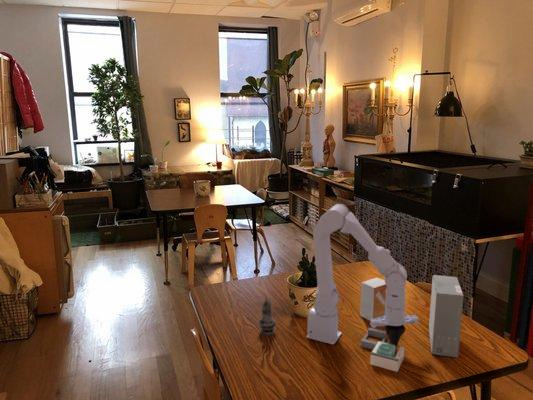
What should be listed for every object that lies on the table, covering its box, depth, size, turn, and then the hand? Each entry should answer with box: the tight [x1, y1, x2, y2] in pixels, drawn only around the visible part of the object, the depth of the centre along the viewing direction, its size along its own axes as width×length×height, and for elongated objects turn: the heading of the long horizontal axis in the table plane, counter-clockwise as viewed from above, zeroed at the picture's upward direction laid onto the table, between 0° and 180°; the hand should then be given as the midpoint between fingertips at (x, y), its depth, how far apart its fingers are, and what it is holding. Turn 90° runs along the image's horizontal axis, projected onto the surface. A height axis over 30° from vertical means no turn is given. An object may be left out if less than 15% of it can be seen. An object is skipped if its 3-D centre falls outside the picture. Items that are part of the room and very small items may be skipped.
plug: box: [377, 341, 396, 358], centre depth 125 cm, size 5×4×5 cm
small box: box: [359, 277, 387, 321], centre depth 152 cm, size 8×6×13 cm
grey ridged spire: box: [257, 298, 277, 336], centre depth 143 cm, size 6×6×12 cm
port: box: [369, 341, 405, 372], centre depth 126 cm, size 8×8×4 cm
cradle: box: [359, 327, 388, 351], centre depth 136 cm, size 9×6×2 cm
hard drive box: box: [428, 274, 465, 358], centre depth 133 cm, size 16×8×20 cm, turn 163°
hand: (393, 346), depth 132 cm, fingers closed
